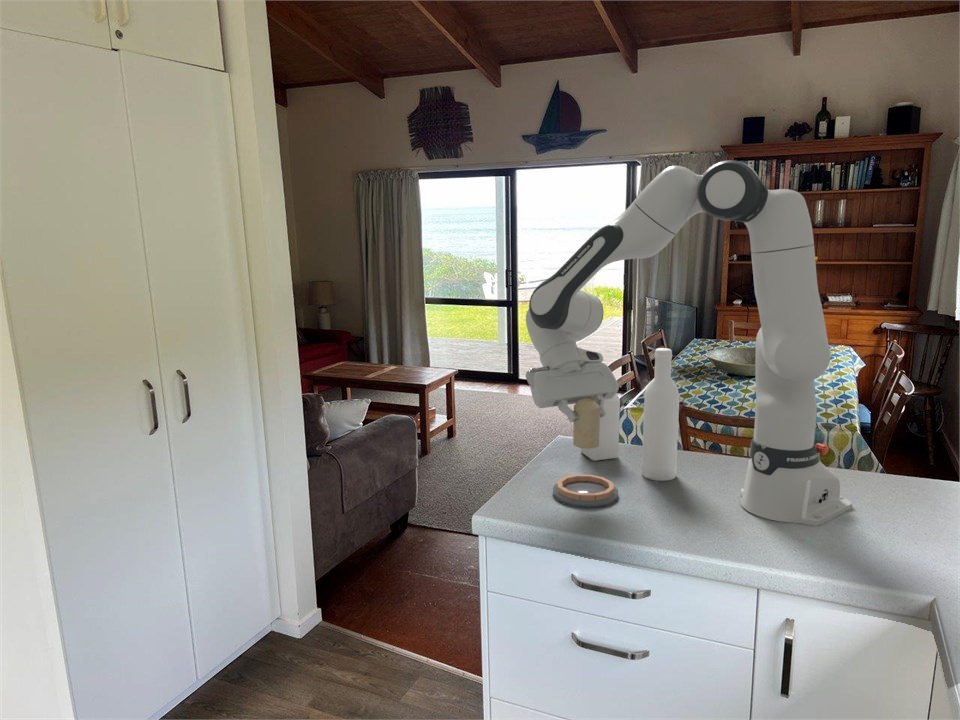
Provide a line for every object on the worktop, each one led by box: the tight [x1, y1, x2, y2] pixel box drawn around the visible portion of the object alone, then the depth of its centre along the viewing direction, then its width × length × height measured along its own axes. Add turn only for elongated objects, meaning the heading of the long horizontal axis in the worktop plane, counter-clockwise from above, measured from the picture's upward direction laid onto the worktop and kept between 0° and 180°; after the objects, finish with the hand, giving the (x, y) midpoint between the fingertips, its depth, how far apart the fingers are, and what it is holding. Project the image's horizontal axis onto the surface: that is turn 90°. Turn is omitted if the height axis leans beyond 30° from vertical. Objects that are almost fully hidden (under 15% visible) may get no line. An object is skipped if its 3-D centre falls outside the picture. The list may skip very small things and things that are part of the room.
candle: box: [572, 398, 600, 449], centre depth 142 cm, size 6×6×10 cm
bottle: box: [641, 347, 680, 482], centre depth 153 cm, size 8×8×30 cm
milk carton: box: [580, 392, 621, 461], centre depth 168 cm, size 7×7×19 cm
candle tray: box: [552, 474, 619, 509], centre depth 144 cm, size 14×14×2 cm
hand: (588, 418), depth 141 cm, fingers closed on candle, 5 cm apart
